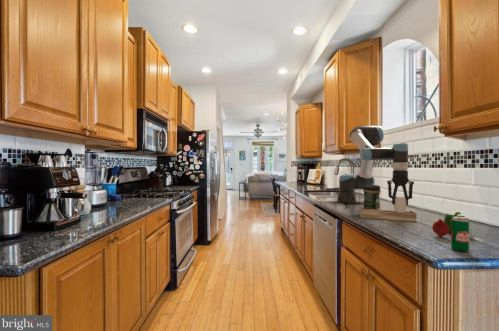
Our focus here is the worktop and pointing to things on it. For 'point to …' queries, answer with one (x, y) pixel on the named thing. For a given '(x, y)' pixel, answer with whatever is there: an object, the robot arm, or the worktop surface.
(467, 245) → the soda can
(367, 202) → the coffee jar
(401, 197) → the slider
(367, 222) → the worktop surface
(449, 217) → the bell pepper
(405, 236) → the worktop surface
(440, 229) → the onion
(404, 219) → the track
